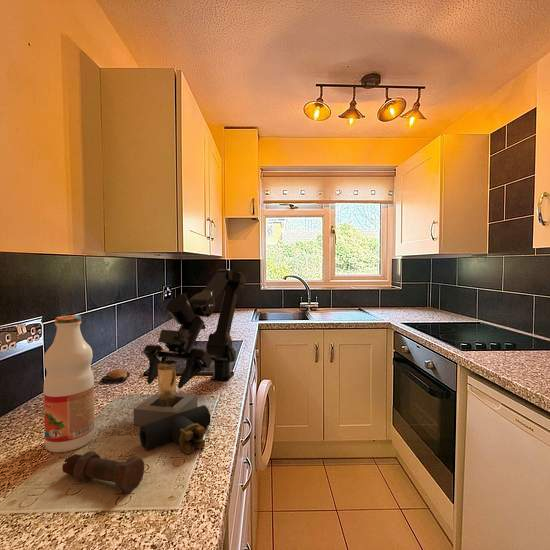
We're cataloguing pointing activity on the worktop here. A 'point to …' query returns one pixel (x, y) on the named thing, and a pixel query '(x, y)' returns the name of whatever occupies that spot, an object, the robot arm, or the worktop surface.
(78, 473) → the bolt
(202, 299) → the robot arm
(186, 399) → the docking block
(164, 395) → the brown round cylinder
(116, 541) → the worktop surface
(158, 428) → the pipe connector
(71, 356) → the fruit juice
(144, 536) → the worktop surface
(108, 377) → the bread roll
